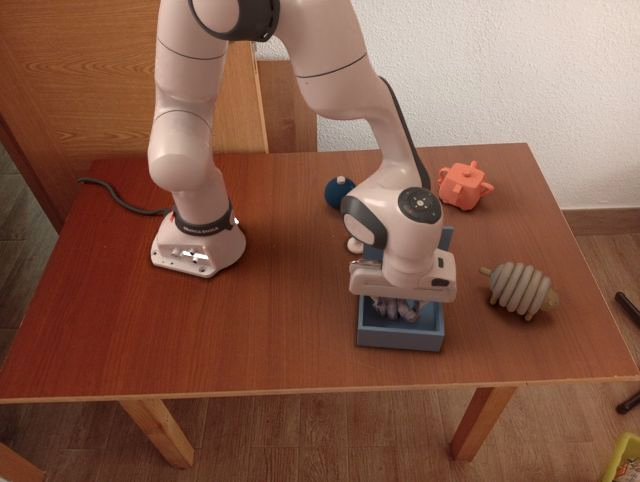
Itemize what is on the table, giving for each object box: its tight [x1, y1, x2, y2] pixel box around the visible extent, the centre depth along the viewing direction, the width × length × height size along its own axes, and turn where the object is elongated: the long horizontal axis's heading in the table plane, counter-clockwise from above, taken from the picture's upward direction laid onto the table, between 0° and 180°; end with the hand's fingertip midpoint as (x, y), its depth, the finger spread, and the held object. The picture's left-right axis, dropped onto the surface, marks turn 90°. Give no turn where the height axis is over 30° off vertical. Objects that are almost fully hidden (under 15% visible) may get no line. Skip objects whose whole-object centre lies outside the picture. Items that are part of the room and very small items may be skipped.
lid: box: [361, 225, 455, 260], centre depth 98 cm, size 14×17×5 cm
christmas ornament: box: [323, 175, 357, 211], centre depth 120 cm, size 8×8×10 cm
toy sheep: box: [478, 261, 561, 322], centre depth 100 cm, size 11×17×11 cm, turn 61°
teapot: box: [437, 160, 495, 211], centre depth 121 cm, size 12×12×10 cm
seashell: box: [372, 297, 421, 323], centre depth 98 cm, size 5×5×10 cm
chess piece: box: [346, 236, 363, 254], centre depth 112 cm, size 5×5×10 cm
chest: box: [356, 295, 446, 353], centre depth 100 cm, size 14×17×7 cm
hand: (398, 304), depth 97 cm, fingers closed on seashell, 6 cm apart
